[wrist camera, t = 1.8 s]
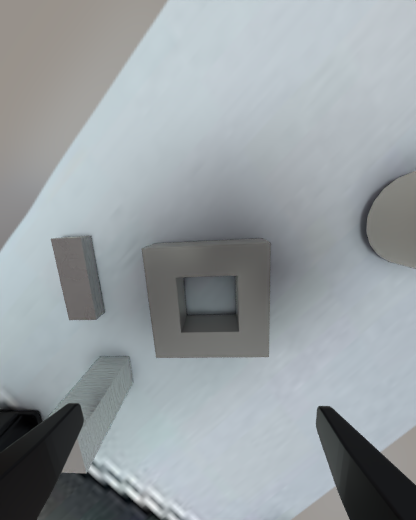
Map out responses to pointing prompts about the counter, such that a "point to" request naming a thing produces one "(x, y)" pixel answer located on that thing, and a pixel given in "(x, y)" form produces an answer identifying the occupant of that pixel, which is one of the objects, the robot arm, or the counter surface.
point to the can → (395, 222)
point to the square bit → (97, 406)
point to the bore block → (209, 326)
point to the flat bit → (79, 277)
